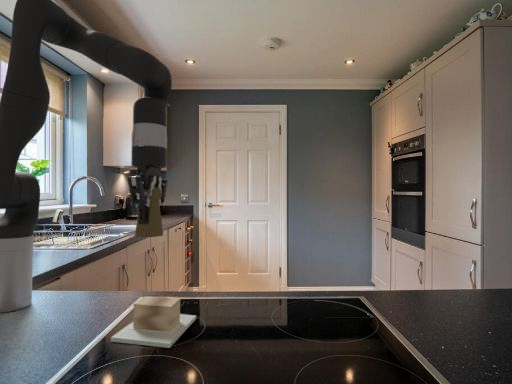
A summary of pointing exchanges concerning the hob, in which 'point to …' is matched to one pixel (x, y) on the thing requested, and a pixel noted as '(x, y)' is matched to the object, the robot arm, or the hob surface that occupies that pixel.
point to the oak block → (156, 313)
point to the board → (154, 334)
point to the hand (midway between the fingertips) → (149, 222)
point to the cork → (151, 217)
